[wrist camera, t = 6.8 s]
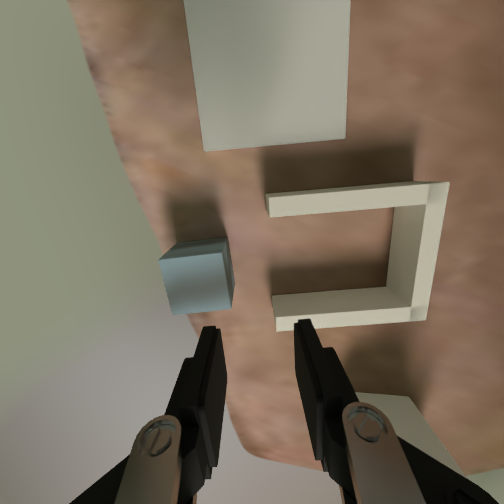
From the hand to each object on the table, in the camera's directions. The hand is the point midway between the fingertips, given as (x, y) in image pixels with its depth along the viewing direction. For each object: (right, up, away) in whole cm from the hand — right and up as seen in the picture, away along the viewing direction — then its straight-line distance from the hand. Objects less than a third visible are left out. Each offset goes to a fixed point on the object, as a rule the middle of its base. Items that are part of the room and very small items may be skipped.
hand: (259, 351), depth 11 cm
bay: (+8, +5, +12) cm, 16 cm away
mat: (+1, +19, +8) cm, 21 cm away
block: (-5, +3, +13) cm, 14 cm away
